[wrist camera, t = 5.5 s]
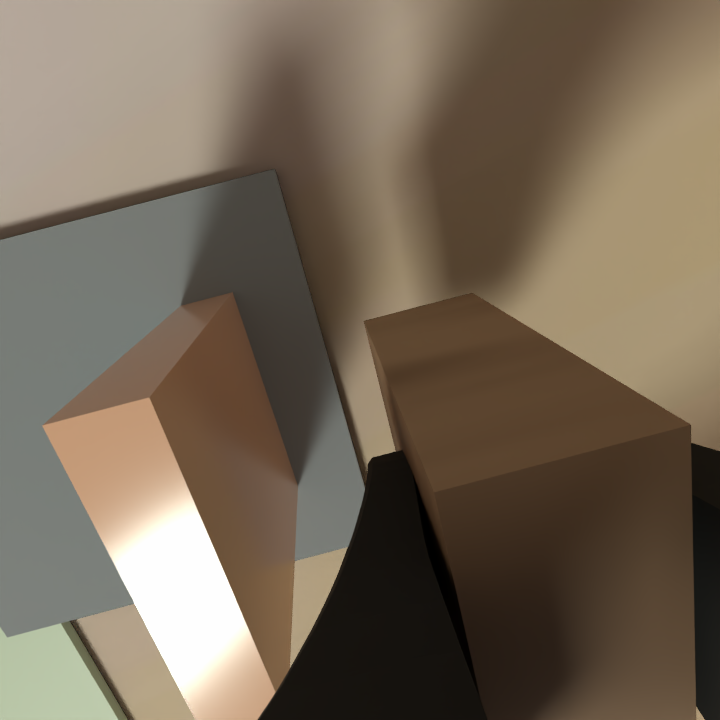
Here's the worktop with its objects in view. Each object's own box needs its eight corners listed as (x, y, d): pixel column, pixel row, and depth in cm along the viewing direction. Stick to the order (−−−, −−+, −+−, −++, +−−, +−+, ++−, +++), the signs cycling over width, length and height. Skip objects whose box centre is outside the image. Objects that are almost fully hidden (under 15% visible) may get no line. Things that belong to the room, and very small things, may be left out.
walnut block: (502, 473, 13) (697, 757, 6) (407, 498, 13) (505, 808, 6) (471, 292, 11) (691, 424, 5) (363, 321, 11) (433, 491, 5)
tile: (298, 486, 17) (287, 719, 9) (250, 498, 17) (201, 742, 9) (232, 292, 15) (149, 397, 7) (177, 306, 15) (35, 427, 7)
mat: (377, 531, 18) (379, 538, 18) (13, 628, 18) (7, 637, 18) (275, 169, 14) (274, 168, 14) (-203, 293, 14) (-218, 296, 14)
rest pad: (143, 745, 21) (140, 756, 20) (-18, 789, 21) (-25, 799, 20) (59, 604, 18) (54, 613, 18) (-126, 653, 18) (-135, 663, 18)
